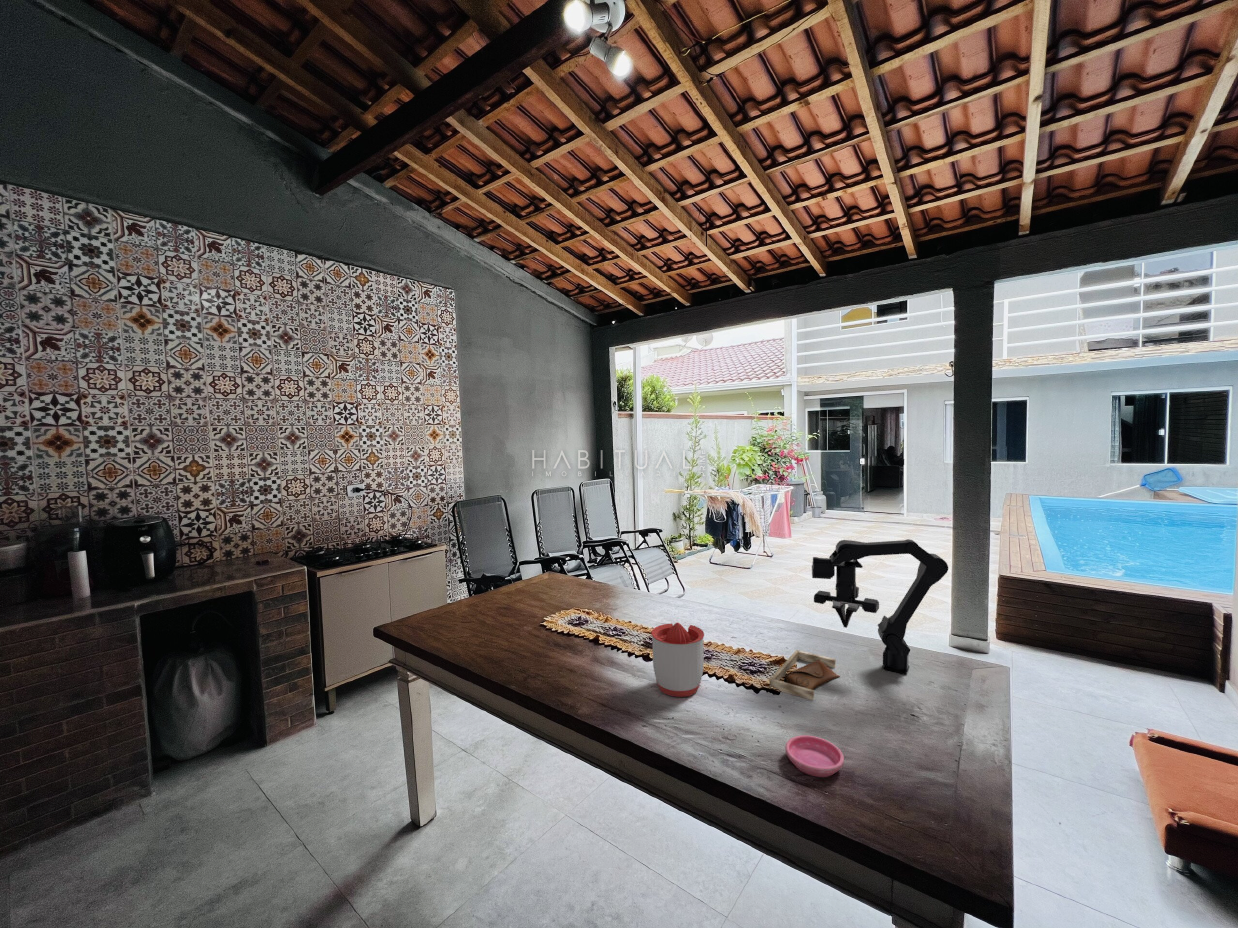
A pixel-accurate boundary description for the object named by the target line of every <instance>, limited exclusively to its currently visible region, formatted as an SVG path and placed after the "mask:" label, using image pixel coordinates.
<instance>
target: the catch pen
mask: <svg viewBox="0 0 1238 928" xmlns="http://www.w3.org/2000/svg"><path fill="white" fill-rule="evenodd" d="M818 659H820V661H821V662H822V663H824V664H825V665H826V666H827V667H828V668H833V669H836V665H837V663H836V660H837V659H836V658H832V657H827V656H824V655H819V654H814V653H810V652H806V651H803V650H798V649H796V650H794V652H793V653H792V654H791V656H789V658H788V659H787V660H785V662H784V663H783V664H782V665H781V666H780V668H778V670H777V671H776V672H775V673H774V674H773V675H772V676H771V677H770V679H769V688H770V687H773V688H776V689H779V690H780V691H779V690H778V691H779V692H783V693H786V694H790V695H793V696H797V697H799V698H804V699H807V700H809V701H814V699H815V689H814V690H811V689H807V688H804V687H800V686H796V685H793V684H789V683H786V682H784V681H781V680H782V679H783V678H784V677H785V676H786V675H787V673H788V672H789V671H788V670H791V668H792V667H793V666H794V665H795V664H796V663H797V662H798V660H799V661H805V662H809V663H812V662H815V661H817V660H818ZM787 671H788V672H787ZM786 672H787V673H786ZM782 677H783V678H782ZM781 678H782V679H781ZM780 679H781V680H780ZM779 680H780V681H779Z"/></svg>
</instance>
